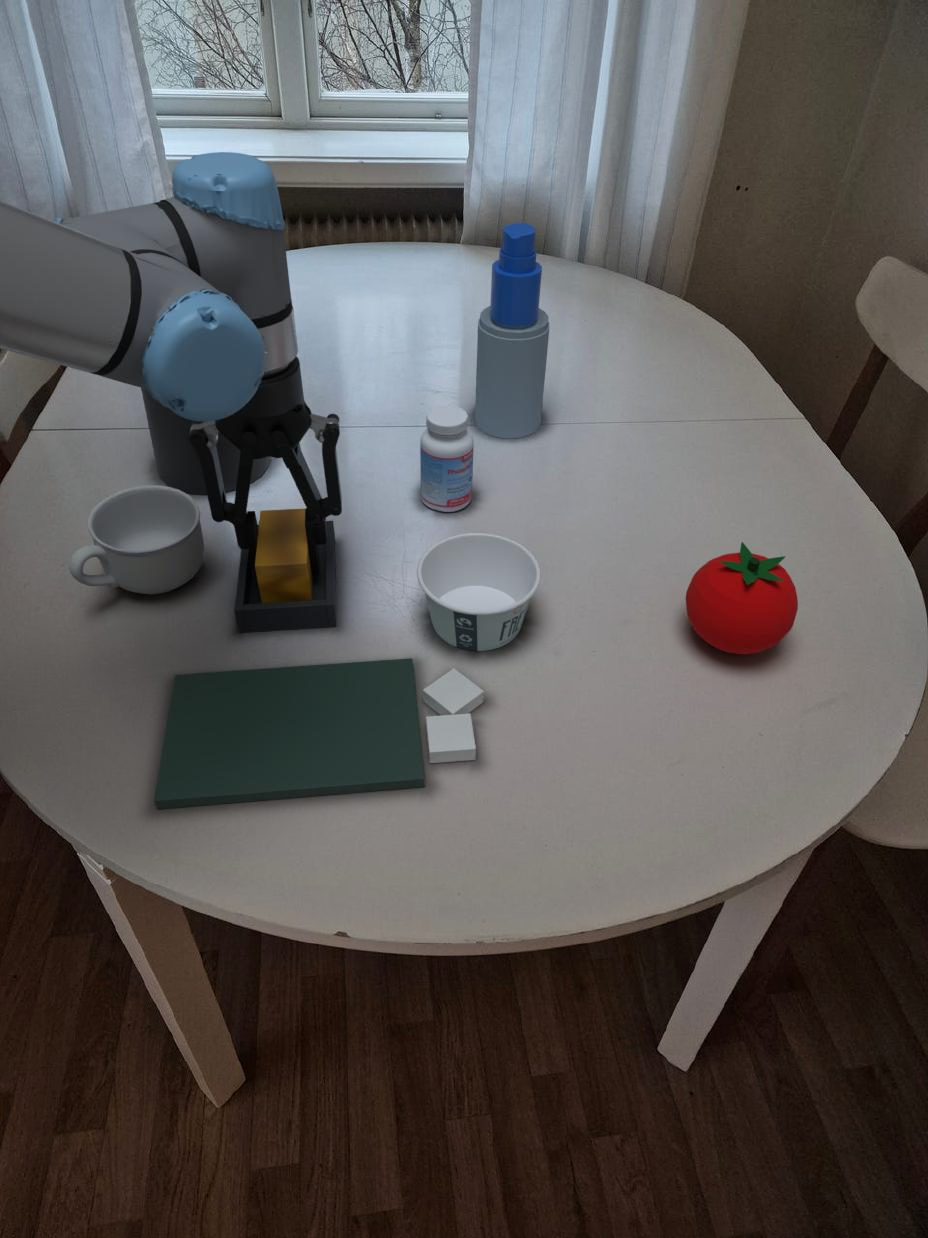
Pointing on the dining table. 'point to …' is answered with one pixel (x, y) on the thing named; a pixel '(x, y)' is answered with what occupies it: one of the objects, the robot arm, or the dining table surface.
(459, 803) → the dining table surface
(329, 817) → the dining table surface
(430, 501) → the pill bottle
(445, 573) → the food container
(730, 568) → the tomato
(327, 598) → the tray
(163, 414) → the vase
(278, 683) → the chalkboard
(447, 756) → the grey square block
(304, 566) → the yellow rectangular block
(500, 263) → the spray bottle
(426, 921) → the dining table surface
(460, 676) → the white square block
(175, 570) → the teacup
